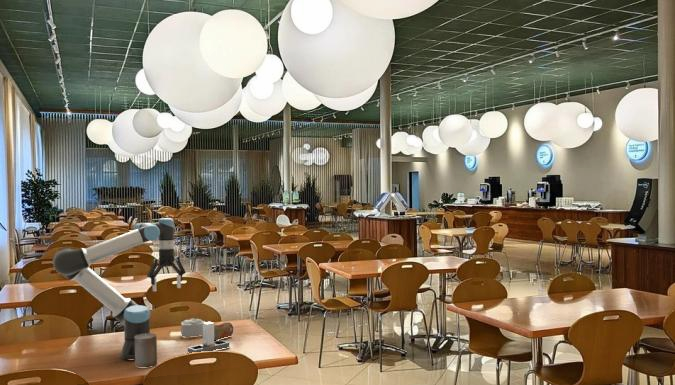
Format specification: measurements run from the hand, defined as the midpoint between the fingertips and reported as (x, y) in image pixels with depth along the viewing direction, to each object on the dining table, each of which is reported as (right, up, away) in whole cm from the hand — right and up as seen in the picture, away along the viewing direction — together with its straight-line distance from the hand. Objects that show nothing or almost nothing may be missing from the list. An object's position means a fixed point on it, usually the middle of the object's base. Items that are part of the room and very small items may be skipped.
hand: (166, 289), depth 302 cm
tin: (+26, -29, +11) cm, 40 cm away
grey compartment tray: (+24, -29, -11) cm, 39 cm away
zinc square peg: (+24, -29, -11) cm, 39 cm away
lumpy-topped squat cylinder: (+9, -29, +20) cm, 36 cm away
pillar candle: (0, -29, -34) cm, 45 cm away
